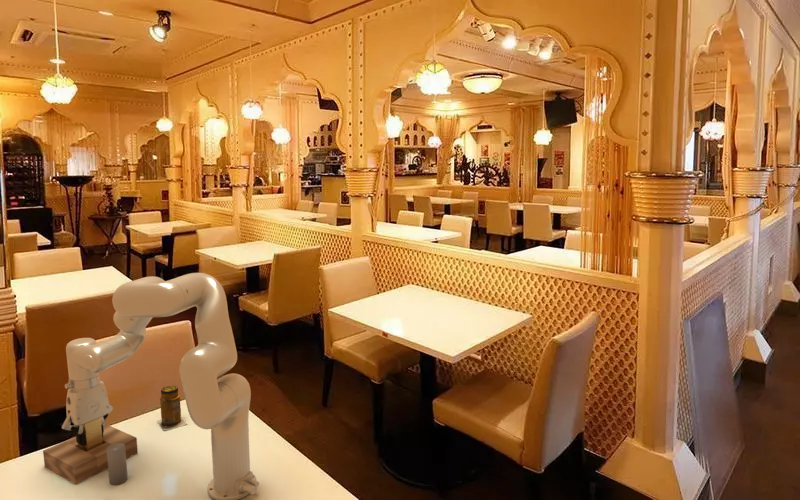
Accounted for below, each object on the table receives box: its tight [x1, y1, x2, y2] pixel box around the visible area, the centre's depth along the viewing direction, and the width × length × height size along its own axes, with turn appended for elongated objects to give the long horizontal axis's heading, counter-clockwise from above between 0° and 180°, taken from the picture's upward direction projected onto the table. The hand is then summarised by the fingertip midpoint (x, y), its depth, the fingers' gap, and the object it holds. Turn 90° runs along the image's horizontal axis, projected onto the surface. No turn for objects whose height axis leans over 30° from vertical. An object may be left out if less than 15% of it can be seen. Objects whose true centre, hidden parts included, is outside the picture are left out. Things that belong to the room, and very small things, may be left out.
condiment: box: [156, 385, 187, 431], centre depth 174 cm, size 7×8×12 cm
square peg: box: [79, 418, 103, 452], centre depth 152 cm, size 4×4×10 cm
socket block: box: [42, 423, 139, 485], centre depth 152 cm, size 16×18×5 cm
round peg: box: [107, 443, 129, 486], centre depth 143 cm, size 4×4×10 cm
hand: (90, 439), depth 152 cm, fingers closed on square peg, 4 cm apart
